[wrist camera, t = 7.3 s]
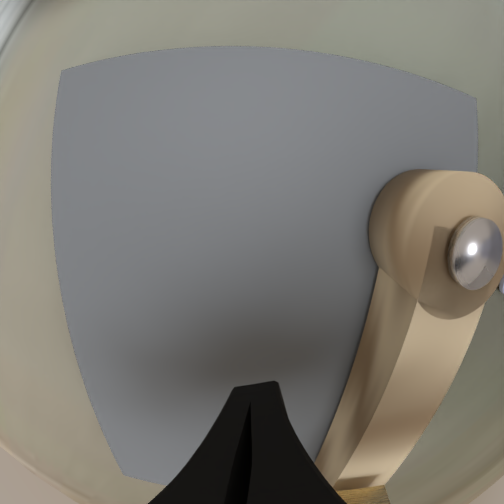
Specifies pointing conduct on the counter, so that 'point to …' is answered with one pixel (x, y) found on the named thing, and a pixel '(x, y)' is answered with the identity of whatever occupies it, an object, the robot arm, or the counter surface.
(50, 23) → the counter surface
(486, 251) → the pintle
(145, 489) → the counter surface
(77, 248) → the board
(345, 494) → the keeper
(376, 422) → the link
